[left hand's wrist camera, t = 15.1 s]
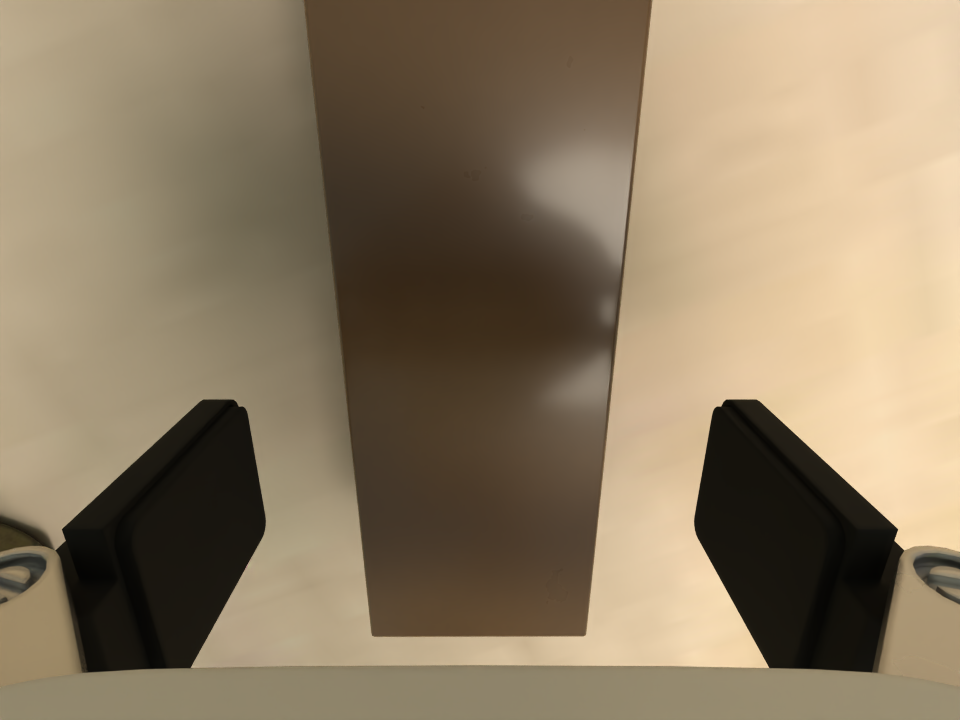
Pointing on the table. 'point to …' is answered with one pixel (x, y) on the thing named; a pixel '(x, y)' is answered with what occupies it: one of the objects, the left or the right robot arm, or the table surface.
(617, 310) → the post
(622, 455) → the table surface
